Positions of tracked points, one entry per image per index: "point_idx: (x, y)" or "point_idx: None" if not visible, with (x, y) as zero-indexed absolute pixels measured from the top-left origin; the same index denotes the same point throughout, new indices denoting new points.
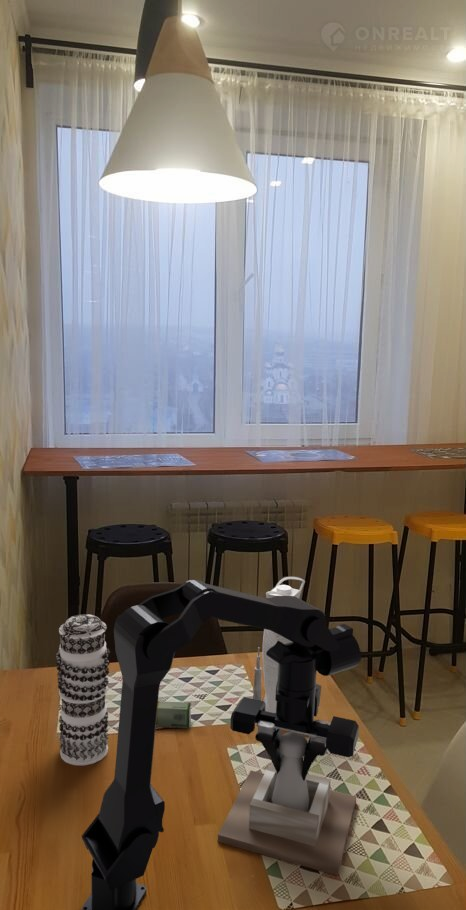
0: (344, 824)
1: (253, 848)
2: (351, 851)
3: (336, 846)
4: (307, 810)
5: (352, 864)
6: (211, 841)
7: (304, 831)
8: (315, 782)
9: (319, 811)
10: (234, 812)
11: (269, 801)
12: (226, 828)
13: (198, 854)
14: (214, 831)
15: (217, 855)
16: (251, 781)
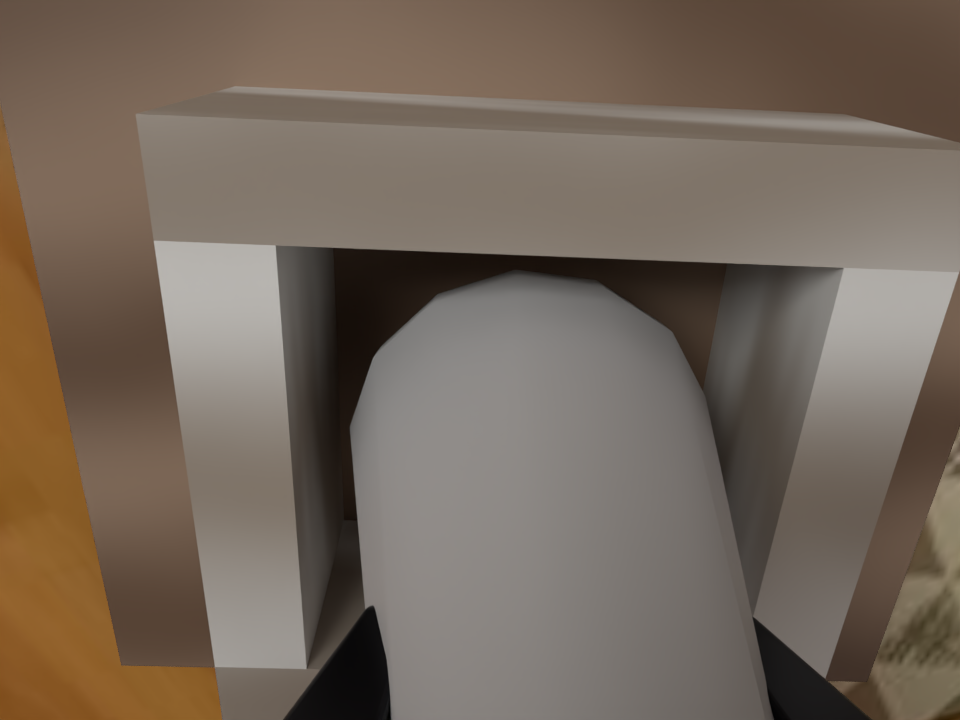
0: (951, 348)
1: None
2: (944, 471)
3: (869, 552)
4: (653, 289)
5: (936, 556)
6: (108, 632)
7: None
8: (794, 262)
9: (830, 644)
10: (118, 479)
11: (330, 349)
12: (144, 613)
13: (94, 716)
14: (81, 567)
15: (189, 697)
16: (54, 63)
